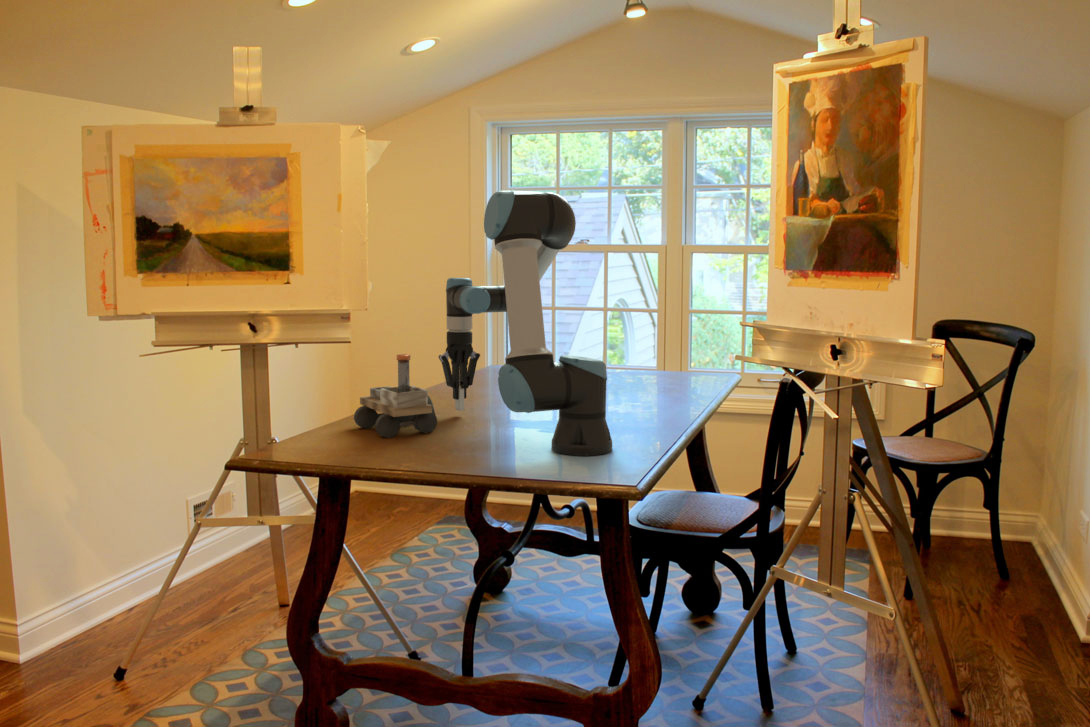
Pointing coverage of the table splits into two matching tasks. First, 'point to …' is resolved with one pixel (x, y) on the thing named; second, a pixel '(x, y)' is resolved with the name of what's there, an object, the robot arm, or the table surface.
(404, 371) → the pin
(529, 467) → the table surface
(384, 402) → the cart
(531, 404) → the robot arm
